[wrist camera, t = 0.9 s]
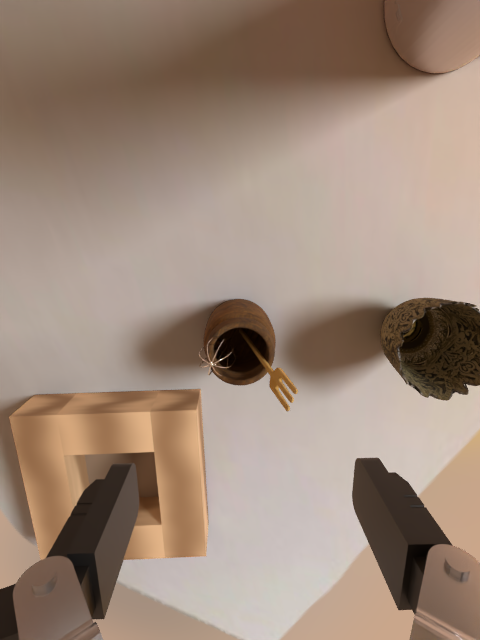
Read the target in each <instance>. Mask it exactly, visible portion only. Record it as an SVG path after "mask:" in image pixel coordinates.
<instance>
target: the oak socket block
mask: <svg viewBox="0 0 480 640" xmlns="http://www.w3.org/2000/svg"><path fill="white" fill-rule="evenodd" d="M9 419H10V424H11V428H12V433H13V437H14V442H15V446H16V451H17V455H18V460H19V464H20V469H21V473H22V478H23V482H24V487H25V491H26V496H27V500H28V505H29V509H30V514H31V518H32V523H33V527H34V532H35V536H36V541H37V545H38V549H39V554H40V559H41V560H43V559H45V558H46V557H47V555H48V553H49V551H50V550H51V548H52V546H53V544H54V543H55V541H56V539H57V537H58V535H59V534H60V532H61V530H62V528H63V527H64V525H65V523H66V521H67V519H68V518H69V517H70V516H71V512H72V511H73V509H74V507H75V506H76V505H77V502H78V500H79V498H80V496H81V495H82V493H83V491H84V490H85V489H86V488H87V487H88V486H89V485H90V484H91V483H93V482H94V481H95V480H96V479H105V477H106V475H107V473H108V471H109V469H110V467H111V465H112V464H117V463H135V465H136V472H137V482H138V492H139V510H138V516H137V520H136V523H135V526H134V529H133V532H132V535H131V538H130V541H129V544H128V547H127V550H126V553H125V556H124V559H123V560H129V559H152V558H175V557H197V556H206V548H207V535H208V506H207V490H206V473H205V456H204V439H203V423H202V406H201V389H189V390H160V391H131V392H102V393H74V394H45V395H34V396H33V397H32V398H31V399H29V400H28V401H27V402H26V403H25V404H23V405H22V406H21V407H20V408H19V409H18V410H16V411H15V412H14V413H13V414H12V415H10V416H9Z"/></svg>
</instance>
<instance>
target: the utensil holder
mask: <svg viewBox="0 0 480 640" xmlns="http://www.w3.org/2000/svg"><path fill="white" fill-rule="evenodd" d="M203 348H204V350H205V354H206V358H207V361H208V362H207V361H205V359H206V358H205V359H204V360H203V359H202V358H201V356H200V352H201V351H200V352H199V356H200V358H201V359H202V360H203V361H205V362H207V363H208V364H209V365H207V366H210V368H211V370H212V371H211V372H213V373H214V374H215V375H216V376H217V377H218V378H219V379H221V380H222V381H224V382H226V383H229V384H233V385H248V384H251V383H254V382H256V381H258V380H260V379H261V378H262V377H263V376H265V375H266V373H267V372H268V373H269V374H270V377H271V378H270V388H271V390H272V391H273V392H274V394H275V395H276V397H277V398H278V400H279V401H280V402H281V404H282V405H283V407H284V408H285V409H286V411H289V410H290V407H289V405H288V404H287V402H286V401H285V399H284V398H283V396H282V395H281V393H280V391H279V389H278V388H280V389H281V391H282V392H283V393H284V395H285V396H286V397H287V399H288V400H289V401H290V402H291V403H292V402H293V401H294V398H293V397H292V396H291V394H290V393H289V391H288V390H287V388H286V387H285V386H284V384H283V383H282V379H283V380H284V382H285V383H286V384H287V385H288V387H289V388H290V389H291V390H292V392H293V393H294V394H297V392H298V390H297V389H296V387H295V386H294V385H293V383H292V382H291V381H290V379H289V378H288V377H287V375H286V374H285V373H284V371H283V370H282V369H281V368H276V369H275V370H274V371H273V369H272V368H271V366H272V363H273V360H274V354H275V334H274V330H273V327H272V325H271V322H270V320H269V318H268V316H267V315H266V313H265V312H264V311H263V309H262V308H261V307H259V306H258V305H257V304H255V303H253V302H251V301H248V300H244V299H234V300H229V301H227V302H224V303H222V304H221V305H219V306H218V307H217V308H216V309H215V310H214V311H213V312H212V314H211V316H210V317H209V320H208V322H207V325H206V329H205V334H204V347H203ZM203 348H202V349H203ZM202 349H201V350H202ZM203 361H202V363H203ZM202 363H201V364H202ZM201 364H200V365H201ZM204 367H206V366H204ZM209 371H210V369H209ZM211 372H210V374H211ZM210 374H209V372H208V375H210Z"/></svg>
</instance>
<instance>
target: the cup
mask: <svg viewBox="0 0 480 640" xmlns="http://www.w3.org/2000/svg"><path fill="white" fill-rule="evenodd" d="M474 307H476V305H474V304H470V303H465V302H456V301H450V300H443V299H435V298H418V299H412V300H409V301H406V302H404V303H402V304H400V305H398V306H397V307H395V308H394V309H393V310H392V311H391V312H389V313H388V314H387V316H386V317H385V319H384V321H383V325H382V328H381V335H380V339H381V345H382V348H383V351H384V353H385V355H386V357H387V358H388V360H389V361H390V363H391V364H392V366H393V367H394V368H395V369H396V371H397V372H398V373H399V374H400V375H401V377H402V378H403V379H404V381H405V382H406V384H409V385H410V386H411V387H413V388H415V389H416V390H417V391H418V392H419V393H420V394H421V395H422V396H424V397H427V398H428V397H429V396H432V397H434V398H436V399H440V400H449V399H450V398H451V397H452V395H453V393H455V392H458V393H459V394H463V395H464V394H466V395H467V394H468V388H467V386H466V384H468V385H473V386H478V385H480V312H479V309H477V308H474ZM464 384H465V385H464ZM465 386H466V387H465Z"/></svg>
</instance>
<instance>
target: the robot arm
mask: <svg viewBox="0 0 480 640" xmlns="http://www.w3.org/2000/svg"><path fill="white" fill-rule="evenodd" d="M384 14H385V23H386V28H387V33H388V36H389V38H390V40H391V43H392V45H393V47H394V48H395V50H396V51H397V53H398V54H399V56H400V57H401V58H402V59H403V60H405V61H406V62H407V63H408V64H409V65H411V66H413V67H414V68H416V69H418V70H420V71H425V72H429V73H446V72H449V71H453V70H457V69H459V68H460V67H462V66H464V65H466V64H468V63H470V62H471V61H473V60H474V59H475V58H477V57H478V56H480V0H385V2H384ZM352 499H353V505H354V509H355V512H356V515H357V517H358V519H359V522H360V524H361V526H362V528H363V531H364V533H365V535H366V538H367V540H368V542H369V544H370V547H371V549H372V551H373V553H374V555H375V558H376V560H377V562H378V565H379V567H380V569H381V571H382V574H383V576H384V578H385V580H386V583H387V585H388V587H389V590H390V592H391V594H392V596H393V599H394V601H395V603H396V605H397V608H398V610H413V612H414V614H415V616H414V621H413V626H412V631H411V635H410V640H480V563H479V562H478V561H477V560H476V559H475V558H474V557H473V556H471V555H470V554H469V553H467V552H466V551H464V550H462V549H460V548H457V547H455V546H453V545H452V544H451V543H450V541H449V540H448V538H447V537H446V536H445V534H444V533H443V531H442V530H441V528H440V527H439V526H438V524H437V523H436V521H435V520H434V518H433V517H432V516H431V514H430V513H429V511H428V510H427V508H425V507H424V504H423V503H422V501H421V500H420V499H419V497H417V494H416V493H415V491H414V490H413V489H412V487H411V486H410V484H409V483H408V482H407V481H406V480H404V479H403V478H402V477H400V476H399V475H398V474H397V473H388V471H387V470H386V468H385V467H384V465H383V463H382V462H381V460H380V459H379V458H357V459H356V461H355V469H354V480H353V491H352ZM138 510H139V492H138V482H137V472H136V465H135V463H117V464H112V465H111V467H110V469H109V471H108V473H107V475H106V477H105V479H96V480H95V481H94V482H93V483H91V484H90V485H89V486H88V487H87V488H86V489H85V490H84V491H83V493H82V495H81V496H80V498H79V500H78V502H77V505H76V506H75V507H74V509H73V511H72V512H71V516H70V517H69V518H68V519H67V521H66V523H65V525H64V527H63V528H62V530H61V532H60V534H59V535H58V537H57V539H56V541H55V543H54V544H53V546H52V548H51V550H50V551H49V553H48V555H47V557H46V558H45V559H43V560H40V561H39V562H37V563H35V564H34V565H32V566H31V567H30V568H29V569H27V570H26V571H25V572H24V573H23V574H22V575H21V577H20V578H19V579H18V581H17V583H16V584H14V585H11V586H9V587H6V588H3V589H0V640H103V638H102V636H101V633H100V630H99V627H98V625H97V623H96V622H95V623H93V621H92V619H104V618H105V615H106V612H107V609H108V605H109V602H110V599H111V596H112V593H113V590H114V587H115V584H116V581H117V578H118V575H119V572H120V569H121V566H122V563H123V559H124V556H125V553H126V550H127V547H128V544H129V541H130V538H131V535H132V532H133V529H134V526H135V523H136V520H137V516H138Z"/></svg>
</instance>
